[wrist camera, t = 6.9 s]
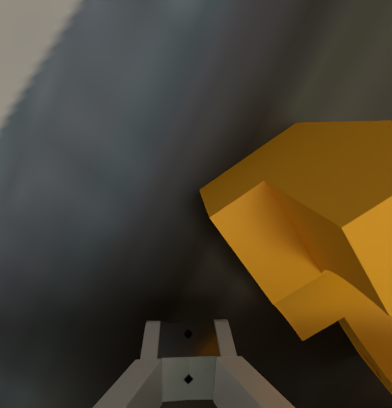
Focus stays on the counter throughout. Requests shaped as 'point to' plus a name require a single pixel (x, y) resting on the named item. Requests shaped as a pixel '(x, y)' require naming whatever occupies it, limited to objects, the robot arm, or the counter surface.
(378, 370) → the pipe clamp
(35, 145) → the counter surface
